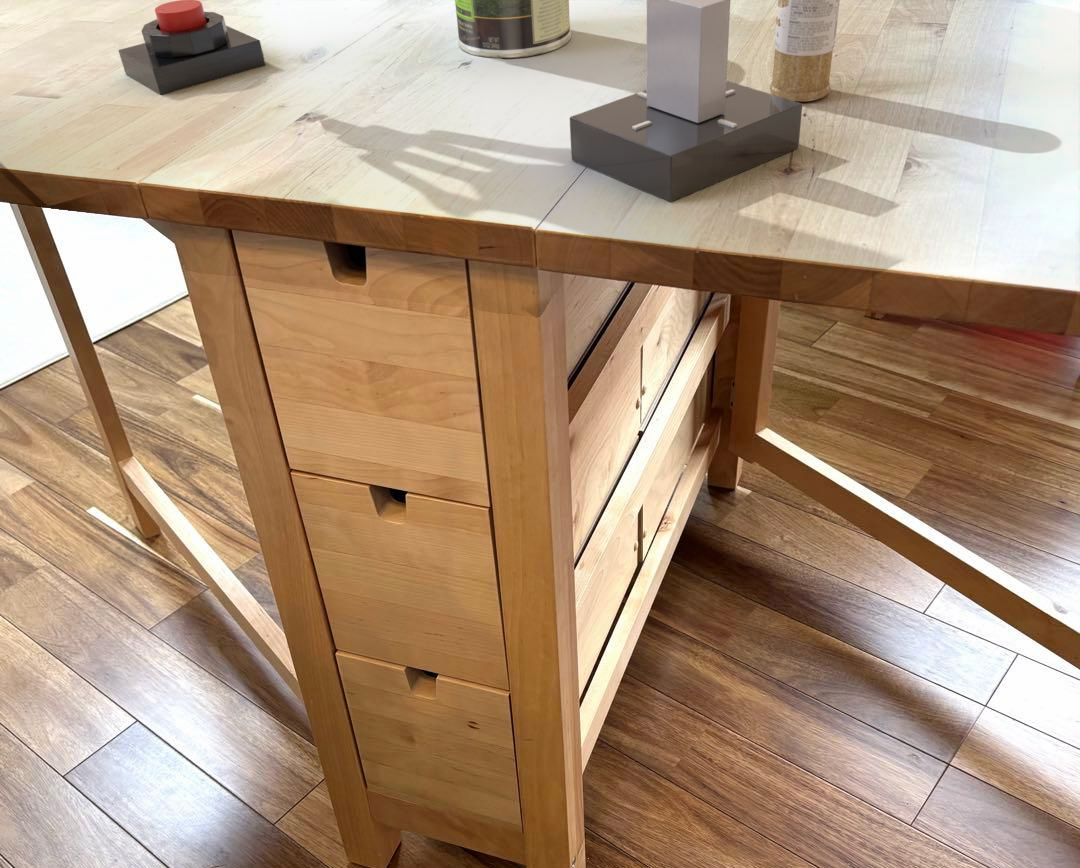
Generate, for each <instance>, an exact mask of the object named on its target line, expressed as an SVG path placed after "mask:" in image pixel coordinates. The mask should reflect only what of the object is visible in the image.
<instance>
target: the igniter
mask: <svg viewBox="0 0 1080 868" xmlns="http://www.w3.org/2000/svg"><path fill="white" fill-rule="evenodd" d="M204 14H205V18H206V22H207V23H206V24H204V25H202V26H200V27H196V28H192V29H188V30H182V31H173V32H170V31H161V30H160V27H159V23H158V20H157V18H156V19H153V20H151V21H150V22H147V23H145V24H144V25H143V27H142V29H141V34H142V37H143V41H144V43H140V44H135V45H131V46H128V47H125V48H121V49H118V50H117V51H118V54H119V58H120V60H121V63H122V64H121V65H122V67H123V69H124V73H125V75H126V76H127V77H128V78H130V79H132V80H133V81H135V82H137V83H138V84H141V85H142V86H143V87H146V88H147V89H149V90H151V91H153V92H154V93H156V94H157V95H159V96H163V95H167V94H170V93H174V92H178V91H180V90H181V91H182V90H185V89H188V88H191V87H195V86H199V85H202V84H206V83H209V82H213V81H216V80H219V79H223V78H226V77H231V76H234V75H238V74H241V73H245V72H248V71H252V70H255V69H258V68H263V67H266V61H265V57H264V52H263V47H262V44H261V40H260V39H258V38H255V37H254V36H251V35H248V34H246V33H244V32H242V31H239V30H238V29H235V28H233V27H231V26H228V25H227V24H226V20H225V17H224V16H223V15H222V14H220V13H217V12H214V11H204Z"/></svg>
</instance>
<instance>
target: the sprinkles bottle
mask: <svg viewBox="0 0 1080 868" xmlns="http://www.w3.org/2000/svg"><path fill="white" fill-rule="evenodd" d="M840 3H841V2H840V0H777V4H776V5H777V7H776V16H775V17H776V18H775V29H774V32H775V33H774V40H773V41H774V43H773V44H774V45H773V48H774V54H773V68H772V79H771V82H770V84H769V91H770V94H772V95H775V96H778V97H782V98H785V99H788V100H791V101H795V102H802V103H805V102H812V101H817V100H820V99H823V98H825V97H826V96H828V94H829V93H830V91H831V83H830V76H831V69H832V59H833V51H834V48H835V44H836V36H837V29H838V28H837V27H838V19H839V12H840V11H839V10H840Z"/></svg>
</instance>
